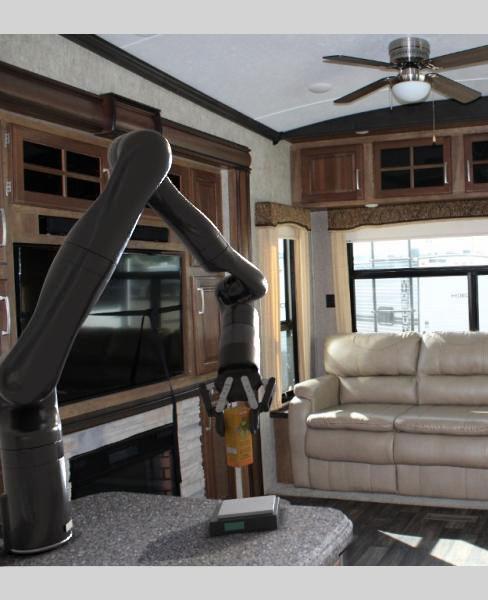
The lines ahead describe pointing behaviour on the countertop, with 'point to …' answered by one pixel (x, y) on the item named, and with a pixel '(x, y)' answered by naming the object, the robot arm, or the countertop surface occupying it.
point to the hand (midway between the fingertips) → (237, 432)
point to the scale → (245, 515)
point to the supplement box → (238, 436)
